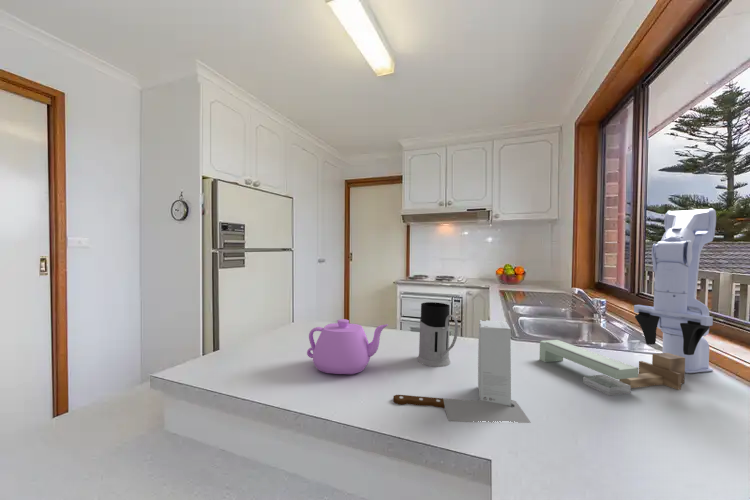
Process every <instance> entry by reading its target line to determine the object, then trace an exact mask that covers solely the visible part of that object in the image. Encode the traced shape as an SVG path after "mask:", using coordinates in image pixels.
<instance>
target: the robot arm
mask: <svg viewBox="0 0 750 500" xmlns="http://www.w3.org/2000/svg"><path fill="white" fill-rule="evenodd" d="M663 219H664V222H663V224H664V230H665V232H664V233H663V235H662V238H661V239H660V241H658V242H657V243H653V244H652V246H651V247H652V248H651V261H652V271H653V272H654V280H653V281H654V285H653V287H654V288H653V289H654V290H653V306H651V305H650V306H649V305H643V304H634V305H633V313H636V314H634V319H635V320H636V322H637V323H638V324H639V326H640V329H641V330H642V334H643V336H644V340H645V344H646V345H649V346H650V345H656V341H657V329H659V330H661V331H660V332H661V333H662V353H670V354H674V355H677V356H681V357H684V358H685V374H694V373H695V374H696V373H705V372H712V371H714V369H713V368H711V367H710V365H709V364H710V363H709V362H710V344H709V342H708V340H707V339H706V338H705V337H706V336H708V335H709V332H710V326H712V327H713V325H714V324H713V323H714V321H713V320H714V319H713V318H714V317H713V316H712V315H711V316H710V309H709V307H708V306H707V305H706V304H705V303H703V302H701V301H700V300H698V299H697V290H698V288H697V287H698V280H699V279H698V278H699V269H700V260H701V258H700V257H701V254H702V250H703V248H704V246H705V245H706V244H708V243H711V242H713V241H714V238H715V235H716V226H717V212H716V209H714V208H713V207H710V208H703V209H700V208H699V209H688V210H687V209H686V210H667V212H665V214H664V218H663Z"/></svg>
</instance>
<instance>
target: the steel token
mask: <svg viewBox="0 0 750 500" xmlns="http://www.w3.org/2000/svg"><path fill="white" fill-rule="evenodd" d="M582 384H583V385H585V386H588V387H589V388H592V389H594V390H596V391H598V392H600V393H603V394H605V395H607V396H609V397H610V396H617V395H626V394H631V391H632V388H631V386H630V385H628V384H625V383H623V382H620V381H619V379H614V378H612V377H609V376H607V375H605V374H597V375H588V376H585V375H584V376H582Z"/></svg>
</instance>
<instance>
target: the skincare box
mask: <svg viewBox="0 0 750 500" xmlns="http://www.w3.org/2000/svg"><path fill="white" fill-rule="evenodd" d="M511 333H512V332H511V327H510V325H509V324H508V322H507V321H503V320H487V319H486V320H485V319H479V320H478V345H477V346H478V349H477V351H478V352H477V354H478V357H477V360H478V361H477V370H478V371H477V387H478V397H479V400H484V401H489V402H493V403H498V404H503V405H507V406H509V407H512V406H511V400H512V373H511V372H512V369H511V367H512V366H511V365H512V364H511V363H512V359H511V356H512V355H511V353H512V352H511V351H512V348H511V345H512V344H511V343H512V342H511V341H512V340H511V339H512V338H511V337H512V336H511Z"/></svg>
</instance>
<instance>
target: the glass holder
mask: <svg viewBox="0 0 750 500" xmlns="http://www.w3.org/2000/svg"><path fill="white" fill-rule="evenodd" d="M450 310H451V309H450V304H448V303H444V302H435V301H434V302H433V301H432V302H431V301H429V302H422V303H421V304H420V319H419V320H420V321H419V343H418V344H419V345H418V355H417V362H418V363H420V364H422V365H423V366H428V367H433V368H436V367H437V368H442V367H447V366H449V365H450V364H451V360H450V351H451V350H452V349H453V347H454V346H455V343H456V341H457V338H458V335H459V333H458V331H459V323H458V319H457V317H456V316H455V315H453V314H450ZM451 318H452V320H454V321H453V322H454V333H453V334H454V336H453V339H452V342H451V344H450V332H451V331H450V330H451V324H450V319H451Z"/></svg>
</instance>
